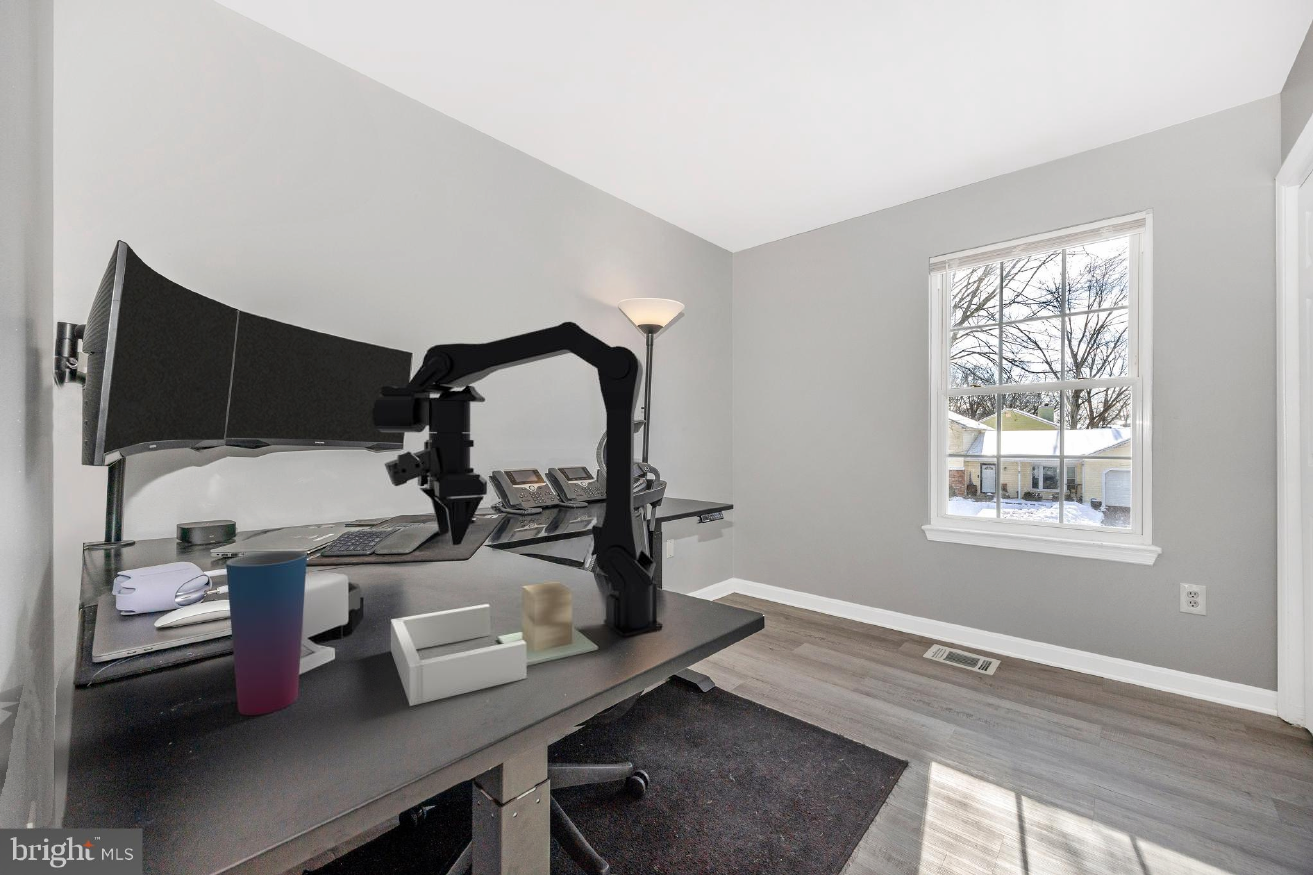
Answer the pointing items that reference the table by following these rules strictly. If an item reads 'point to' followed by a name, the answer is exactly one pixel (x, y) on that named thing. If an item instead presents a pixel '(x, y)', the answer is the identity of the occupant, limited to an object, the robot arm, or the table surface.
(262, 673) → the cup
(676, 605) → the table surface
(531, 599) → the maple block
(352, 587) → the black and grey container
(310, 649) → the security camera
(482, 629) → the cubby
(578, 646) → the sage mat
